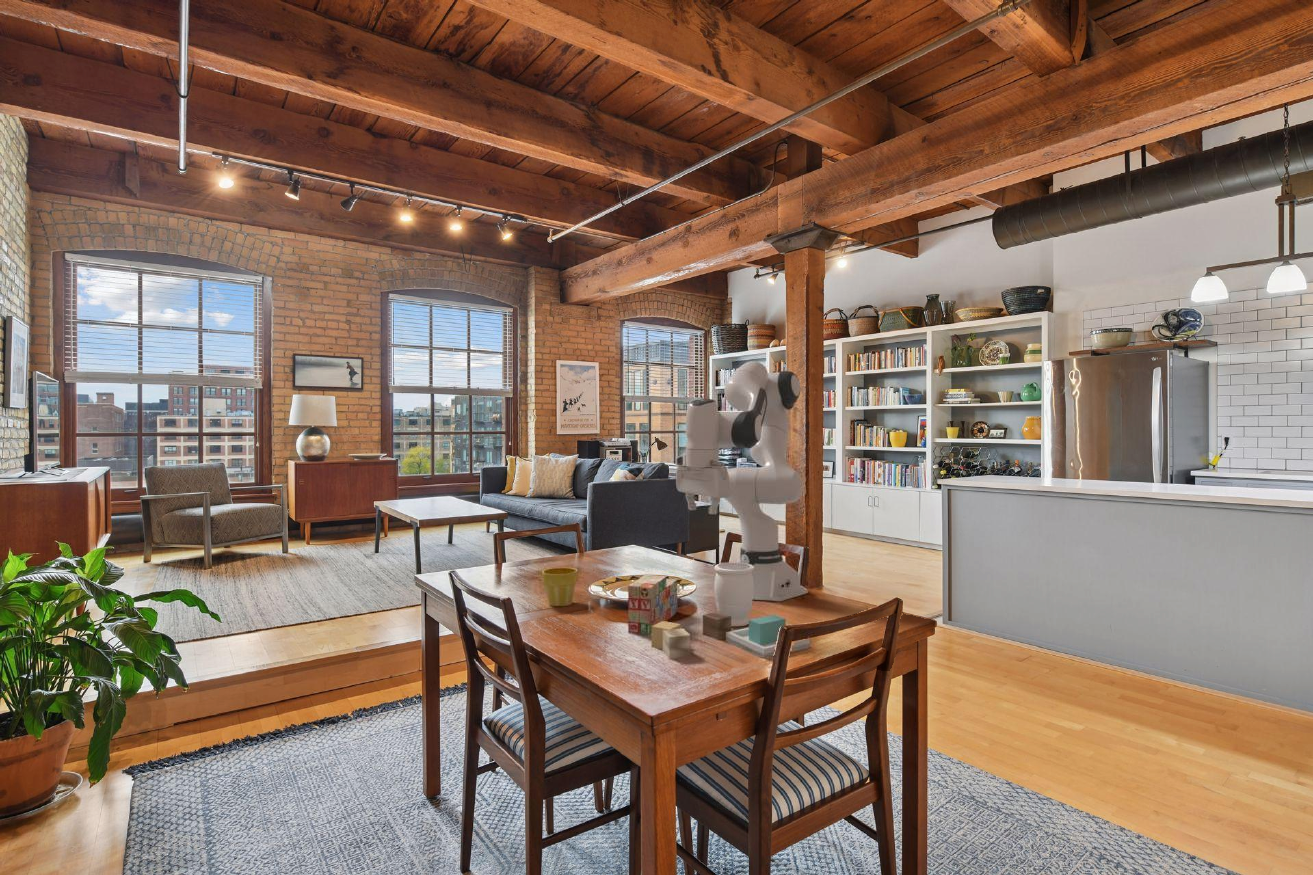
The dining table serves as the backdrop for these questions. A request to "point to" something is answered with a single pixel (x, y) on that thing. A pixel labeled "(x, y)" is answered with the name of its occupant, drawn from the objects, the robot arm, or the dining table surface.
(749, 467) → the robot arm
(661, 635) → the ochre cube
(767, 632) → the teal brick
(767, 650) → the tray
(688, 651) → the maple cube
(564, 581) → the plant pot
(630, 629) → the stack of blocks
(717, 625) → the walnut cube
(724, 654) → the dining table surface
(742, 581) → the jar
